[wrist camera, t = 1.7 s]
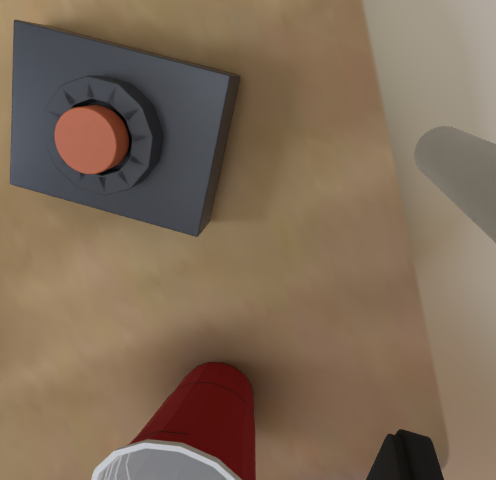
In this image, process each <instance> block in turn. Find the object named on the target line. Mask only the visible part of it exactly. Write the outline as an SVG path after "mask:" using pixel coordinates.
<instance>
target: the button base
mask: <svg viewBox="0 0 496 480" xmlns="http://www.w3.org/2000/svg"><path fill="white" fill-rule="evenodd" d="M239 81H240V75H238V74H234V73H230V72H226V71H222V70H218V69H214V68H210V67H206V66H203V65H199V64H195V63H191V62H187V61H183V60H179V59H175V58H171V57H167V56H164V55H160V54H156V53H152V52H148V51H144V50H140V49H136V48H132V47H129V46H125V45H121V44H117V43H113V42H109V41H105V40H101V39H97V38H93V37H90V36H86V35H82V34H78V33H74V32H70V31H66V30H62V29H58V28H54V27H51V26H47V25H41V24H36V23H30V22H25V21H19V20H14V40H13V81H12V123H11V165H10V184H11V185H15V186H18V187H22V188H26V189H29V190H33V191H36V192H40V193H43V194H47V195H50V196H54V197H57V198H61V199H65V200H68V201H72V202H75V203H79V204H82V205H86V206H89V207H93V208H97V209H100V210H104V211H107V212H111V213H114V214H118V215H121V216H125V217H128V218H132V219H136V220H139V221H143V222H146V223H150V224H153V225H157V226H160V227H164V228H168V229H171V230H175V231H178V232H182V233H185V234H189V235H192V236H196V237H198V236H199V234H200V233H201V232H202V230H203V229H204V228H205V227H206V225H207V224H208V223H209V221H210V217H211V212H212V207H213V203H214V198H215V193H216V189H217V184H218V179H219V174H220V170H221V165H222V160H223V156H224V151H225V146H226V142H227V137H228V132H229V128H230V123H231V118H232V113H233V109H234V104H235V99H236V95H237V90H238V85H239ZM90 105H100V106H104V107H107V108H109V109H111V110H112V111H114V112H115V113H116V114H117V115H118V116H119V117H120V118H121V119H122V121H123V122H124V124H125V126H126V128H127V131H128V135H129V148H128V151H127V154H126V156H125V158H124V159H123V160H122V161H121V163H119V164H118V165H116V166H115V167H112V168H110V169H108V170H105V171H103V172H101V173H98V174H84V173H81V172H78V171H76V170H74V169H73V168H71V167H70V166H69V165H68V164H67V163H66V162H65V161H64V160H63V159H62V157H61V156H60V154H59V152H58V150H57V147H56V144H55V128H56V124H57V122H58V120H59V118H60V117H61V116H62V115H63V114H64V113H65V112H66V111H68V110H70V109H72V108H75V107H82V106H90Z"/></svg>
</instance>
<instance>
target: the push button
mask: <svg viewBox="0 0 496 480" xmlns="http://www.w3.org/2000/svg"><path fill="white" fill-rule="evenodd" d="M55 144H56V147H57V150H58V152H59V154H60V156H61V157H62V159H63V160H64V161H65V162H66V163H67V164H68V165H69V166H70V167H71V168H73V169H74V170H76V171H78V172H81V173H84V174H98V173H101V172H103V171H105V170H108V169H110V168H112V167H115V166H116V165H118V164H119V163H121V161H122V160H123V159H124V158H125V156H126V154H127V151H128V148H129V135H128V131H127V128H126V126H125V124H124V122H123V121H122V119H121V118H120V117H119V116H118V115H117V114H116V113H115V112H114V111H112V110H111V109H109V108H107V107H104V106H100V105H90V106H82V107H75V108H72V109H70V110H68V111H66V112H65V113H64V114H63V115H62V116H61V117H60V118H59V120H58V122H57V124H56V128H55Z"/></svg>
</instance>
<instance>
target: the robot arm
mask: <svg viewBox="0 0 496 480" xmlns="http://www.w3.org/2000/svg"><path fill="white" fill-rule="evenodd" d="M366 480H444V478H443V475H442V472H441V469H440V465H439V462H438V459H437V456H436V452H435V449H434V446H433V443H432V441H431V439H430V438H429V437H426V436H423V435H420V434H416V433H413V432H409V431H406V430H402V429H400V430H398V431H397V433H396V434H395V435H393V434H388V435H387V436H386V438H385V440H384V442H383V444H382V447H381V449H380V451H379V453H378V455H377V457H376V459H375V462H374V464H373V466H372V468H371V470H370V472H369V475H368V477H367V479H366Z"/></svg>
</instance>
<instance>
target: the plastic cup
mask: <svg viewBox="0 0 496 480" xmlns="http://www.w3.org/2000/svg"><path fill="white" fill-rule="evenodd" d="M91 480H256V475H255V423H254V402H253V392H252V388H251V385H250V384H249V382H248V380H247V378H246V376H244V375H243V374H242V373H241V372H240V371H238V370H237V369H236V368H234V367H232V366H229V365H226V364H224V363H213V362H208V363H205V364H202V365H199V366H197V367H196V368H195V369H193V370H192V371H191V372H190V373H189V374H188V375H187V376H186V377H185V378H184V379H183V380H182V382H181V383H180V384H179V386H178V387H177V388H176V390H175V391H174V392H173V393H172V394H171V395H170V396H169V397H168V398H167V399H166V401H165V402H164V403H163V404H162V406H161V407H160V408H159V409H158V411H157V412H156V413H155V414H154V416H153V417H152V418H151V419H150V421H149V422H148V423H147V424H146V426H145V427H144V428H143V429H142V431H141V432H140V433H139V434H138V436H137V437H136V438H135V439H134V440H133V441H132V442H130V443H129V444H128V445H126V446H122V447H119V448H117V449H116V450H115V451H114V452H112V453H111V454H110V455H109V456H108V457H107V458H106V459H105V460H104V461H103V462H102V463H101V464H100V465H99V466H98V467H97V468H95V469H94V472H93V476H92V479H91Z"/></svg>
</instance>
